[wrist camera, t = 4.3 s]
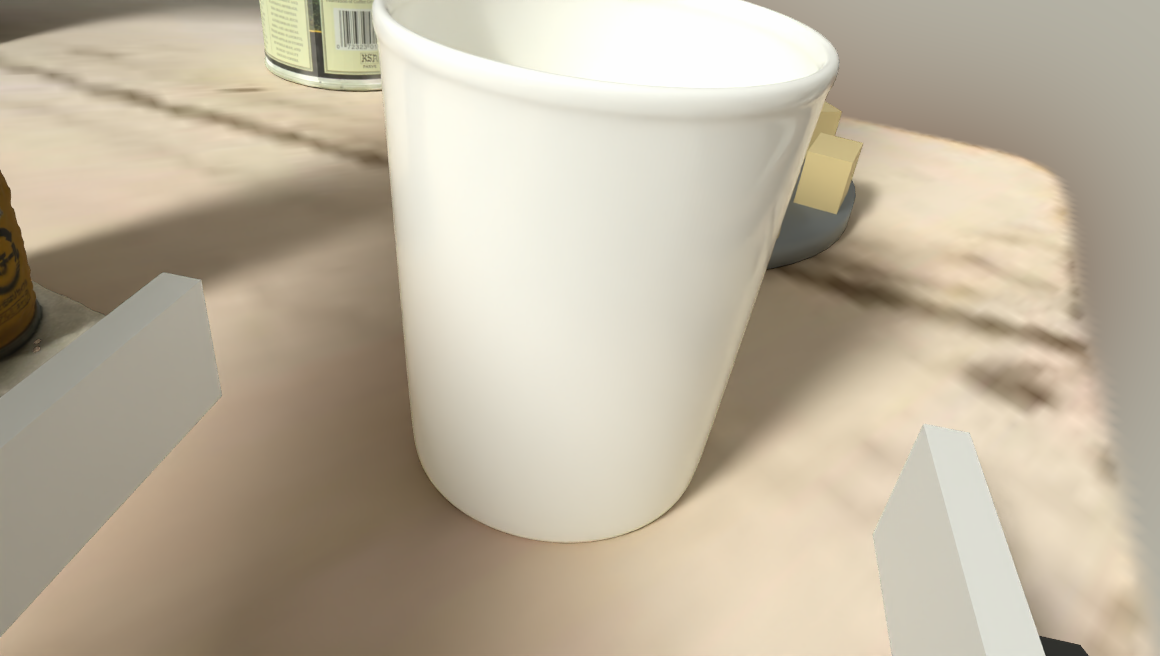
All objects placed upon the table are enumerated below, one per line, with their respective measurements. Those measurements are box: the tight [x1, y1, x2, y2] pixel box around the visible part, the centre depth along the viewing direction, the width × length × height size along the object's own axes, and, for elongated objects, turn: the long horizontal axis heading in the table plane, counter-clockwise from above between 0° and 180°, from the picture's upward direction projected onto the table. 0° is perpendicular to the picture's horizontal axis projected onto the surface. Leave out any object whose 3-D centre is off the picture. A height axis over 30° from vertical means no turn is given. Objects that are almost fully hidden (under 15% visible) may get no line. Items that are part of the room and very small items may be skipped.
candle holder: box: [372, 0, 839, 543], centre depth 20 cm, size 10×10×12 cm
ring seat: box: [767, 102, 863, 269], centre depth 40 cm, size 20×20×4 cm
